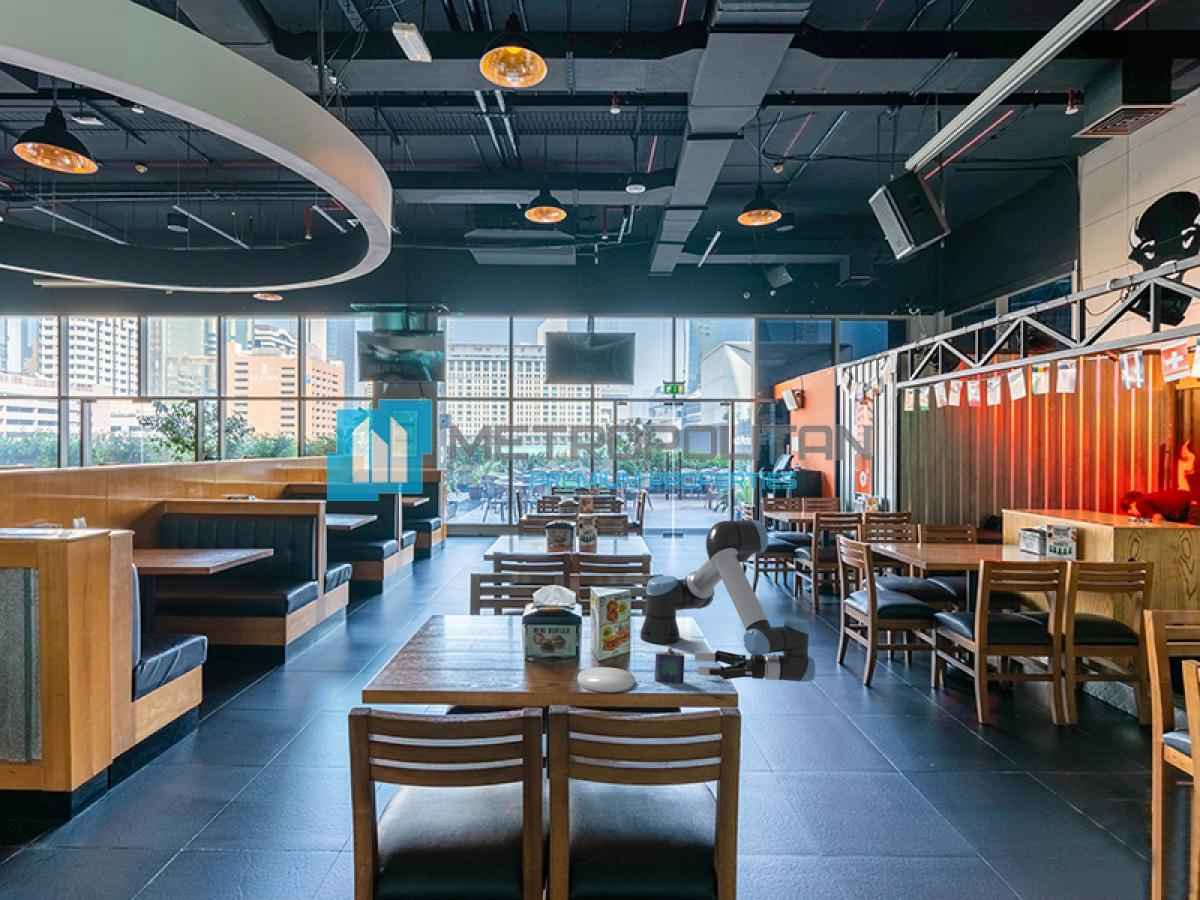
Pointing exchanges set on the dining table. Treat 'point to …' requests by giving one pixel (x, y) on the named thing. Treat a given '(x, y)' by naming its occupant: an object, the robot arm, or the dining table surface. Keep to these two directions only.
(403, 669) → the dining table surface
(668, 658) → the flask
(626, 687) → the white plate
